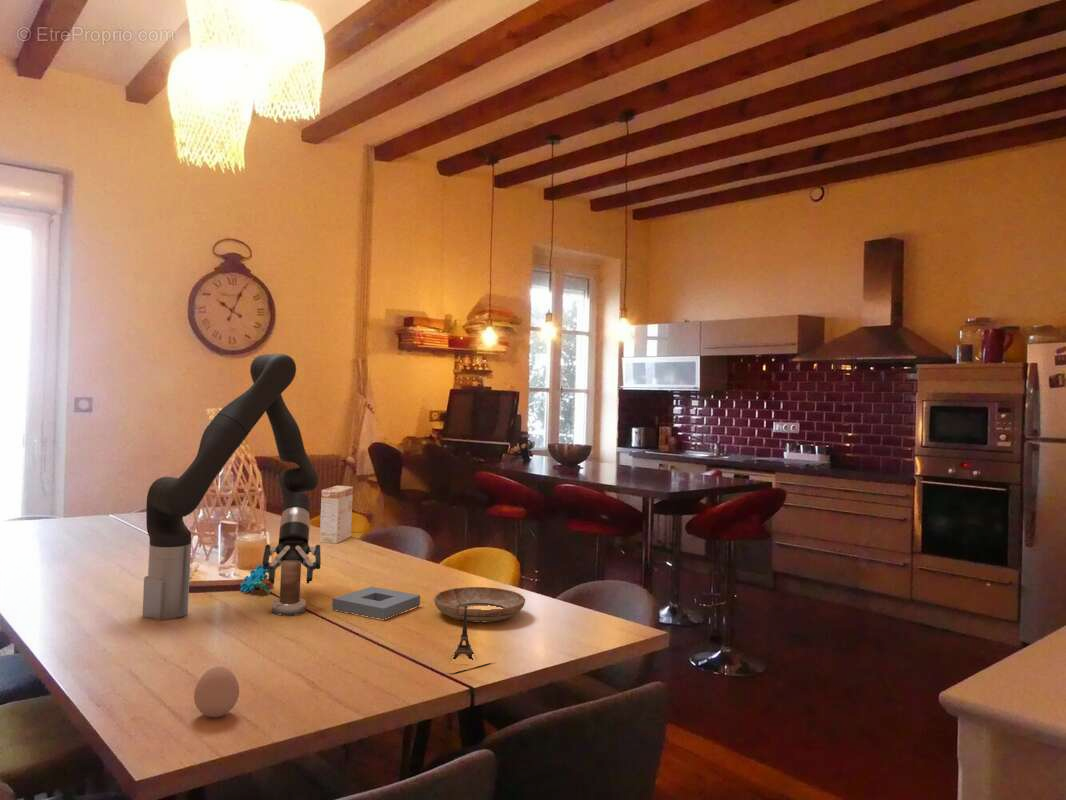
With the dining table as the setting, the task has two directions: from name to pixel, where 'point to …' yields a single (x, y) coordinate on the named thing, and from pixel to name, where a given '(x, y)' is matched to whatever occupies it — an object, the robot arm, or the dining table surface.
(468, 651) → the eiffel tower figurine
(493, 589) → the ceramic bowl
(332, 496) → the coffeecake box
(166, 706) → the dining table surface
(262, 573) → the blue flower cluster
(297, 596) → the peg
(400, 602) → the hub block
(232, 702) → the egg
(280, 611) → the pedestal
